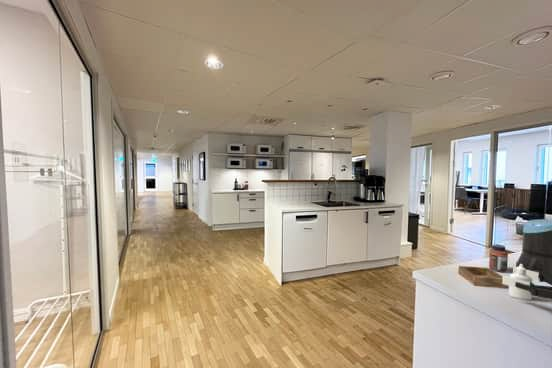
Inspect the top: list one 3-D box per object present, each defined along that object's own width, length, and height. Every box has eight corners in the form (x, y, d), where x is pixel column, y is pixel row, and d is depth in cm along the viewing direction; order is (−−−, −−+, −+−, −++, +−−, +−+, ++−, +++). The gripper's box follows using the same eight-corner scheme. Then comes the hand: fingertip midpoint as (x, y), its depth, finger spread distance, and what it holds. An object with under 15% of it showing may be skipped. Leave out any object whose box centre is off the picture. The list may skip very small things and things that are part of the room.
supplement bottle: (485, 266, 109) (486, 243, 108) (500, 267, 108) (501, 243, 107) (494, 272, 103) (496, 247, 102) (510, 273, 102) (512, 248, 101)
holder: (487, 275, 100) (487, 267, 99) (507, 288, 89) (507, 279, 89) (458, 273, 102) (458, 265, 102) (474, 285, 91) (474, 276, 91)
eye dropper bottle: (531, 302, 79) (533, 268, 78) (508, 296, 83) (509, 263, 83) (531, 298, 82) (533, 265, 81) (509, 292, 86) (510, 260, 86)
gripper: (606, 330, 61) (497, 294, 78) (610, 300, 74) (516, 276, 92) (608, 302, 60) (498, 273, 78) (612, 277, 74) (517, 257, 92)
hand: (507, 274), depth 85 cm, fingers open, 13 cm apart
